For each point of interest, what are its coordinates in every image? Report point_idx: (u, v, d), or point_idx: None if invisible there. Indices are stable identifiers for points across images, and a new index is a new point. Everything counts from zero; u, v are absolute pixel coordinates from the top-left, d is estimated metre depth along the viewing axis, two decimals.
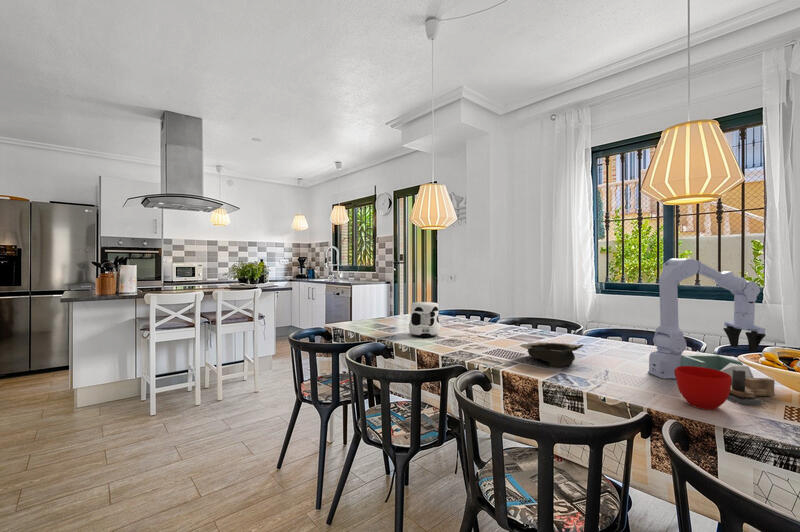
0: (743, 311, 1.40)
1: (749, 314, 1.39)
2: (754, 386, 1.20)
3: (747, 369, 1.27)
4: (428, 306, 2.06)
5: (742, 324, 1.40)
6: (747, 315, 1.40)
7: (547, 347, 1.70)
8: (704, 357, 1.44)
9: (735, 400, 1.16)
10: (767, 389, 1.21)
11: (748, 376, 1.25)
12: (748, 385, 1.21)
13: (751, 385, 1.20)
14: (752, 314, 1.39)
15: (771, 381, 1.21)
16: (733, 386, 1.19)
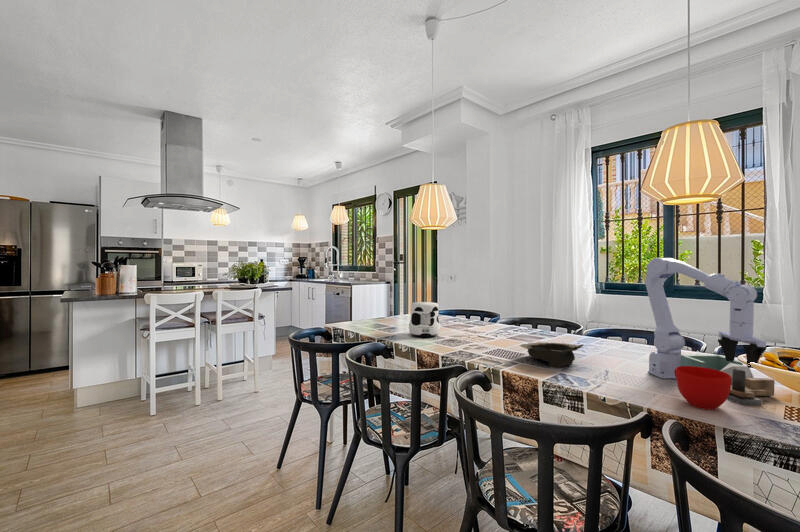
0: (730, 319, 1.24)
1: (747, 324, 1.20)
2: (754, 386, 1.20)
3: (747, 369, 1.27)
4: (428, 306, 2.06)
5: (739, 335, 1.21)
6: (745, 325, 1.21)
7: (547, 347, 1.70)
8: (704, 357, 1.44)
9: (735, 400, 1.16)
10: (767, 389, 1.21)
11: (748, 376, 1.25)
12: (748, 385, 1.21)
13: (751, 385, 1.20)
14: (751, 324, 1.20)
15: (771, 381, 1.21)
16: (733, 386, 1.19)
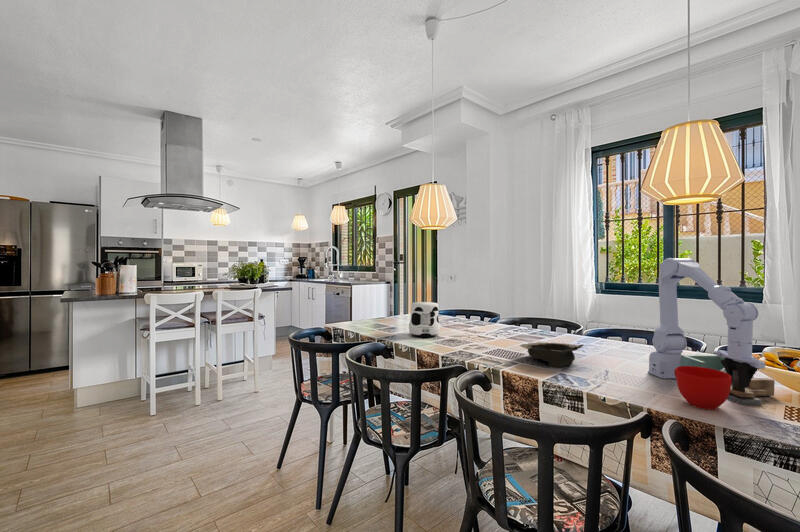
0: None
1: (746, 344, 1.15)
2: (754, 386, 1.20)
3: None
4: (428, 306, 2.06)
5: (737, 356, 1.16)
6: (743, 345, 1.16)
7: (547, 347, 1.70)
8: (704, 357, 1.44)
9: (735, 400, 1.16)
10: (767, 389, 1.21)
11: None
12: None
13: (751, 385, 1.20)
14: (749, 344, 1.15)
15: (771, 381, 1.21)
16: (733, 386, 1.19)
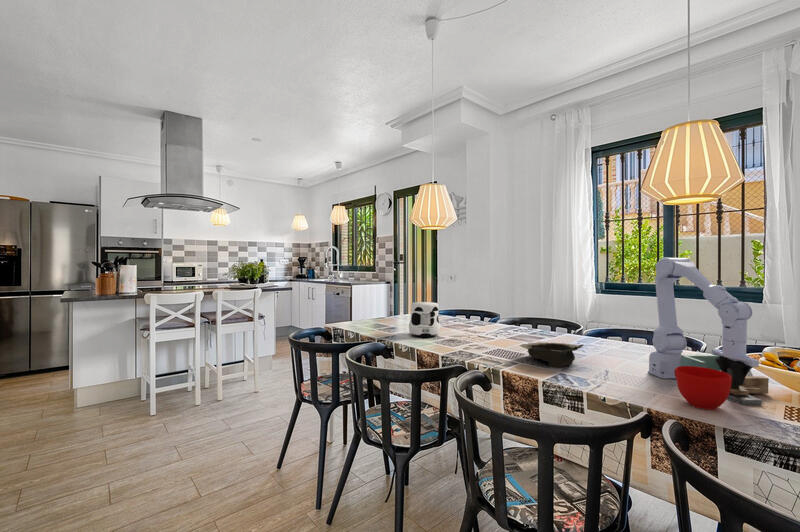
0: None
1: (740, 343, 1.17)
2: (748, 384, 1.22)
3: None
4: (428, 306, 2.06)
5: (732, 354, 1.18)
6: (737, 344, 1.17)
7: (547, 347, 1.70)
8: (704, 357, 1.44)
9: (735, 400, 1.16)
10: (762, 387, 1.22)
11: None
12: None
13: (745, 383, 1.22)
14: (743, 343, 1.17)
15: (765, 379, 1.22)
16: None
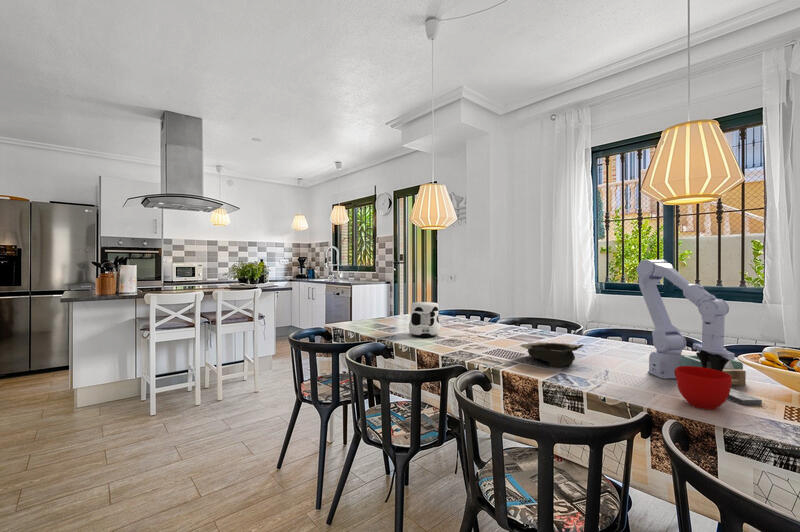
0: (702, 332, 1.29)
1: (718, 337, 1.25)
2: None
3: None
4: (428, 306, 2.06)
5: (710, 348, 1.26)
6: (716, 338, 1.25)
7: (547, 347, 1.70)
8: None
9: (735, 400, 1.16)
10: (739, 379, 1.30)
11: (728, 367, 1.33)
12: None
13: None
14: (721, 337, 1.25)
15: (742, 372, 1.30)
16: None
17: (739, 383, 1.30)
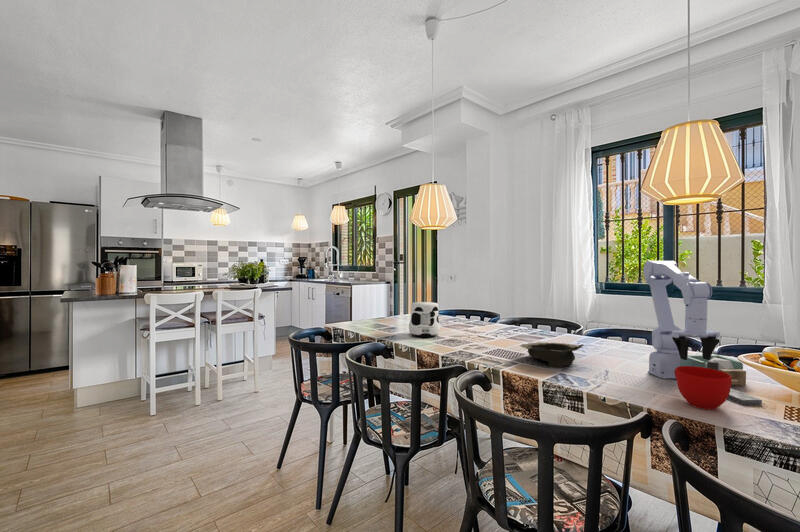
0: None
1: (686, 318, 1.26)
2: None
3: (728, 363, 1.34)
4: (428, 306, 2.06)
5: None
6: (685, 319, 1.27)
7: (547, 347, 1.70)
8: None
9: (735, 400, 1.16)
10: (740, 380, 1.30)
11: None
12: None
13: None
14: (688, 319, 1.25)
15: (743, 372, 1.30)
16: None
17: (739, 383, 1.30)
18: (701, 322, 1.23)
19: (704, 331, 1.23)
